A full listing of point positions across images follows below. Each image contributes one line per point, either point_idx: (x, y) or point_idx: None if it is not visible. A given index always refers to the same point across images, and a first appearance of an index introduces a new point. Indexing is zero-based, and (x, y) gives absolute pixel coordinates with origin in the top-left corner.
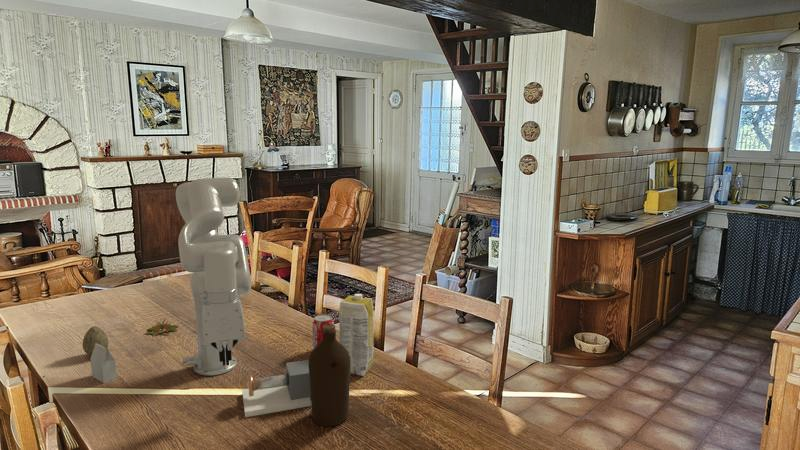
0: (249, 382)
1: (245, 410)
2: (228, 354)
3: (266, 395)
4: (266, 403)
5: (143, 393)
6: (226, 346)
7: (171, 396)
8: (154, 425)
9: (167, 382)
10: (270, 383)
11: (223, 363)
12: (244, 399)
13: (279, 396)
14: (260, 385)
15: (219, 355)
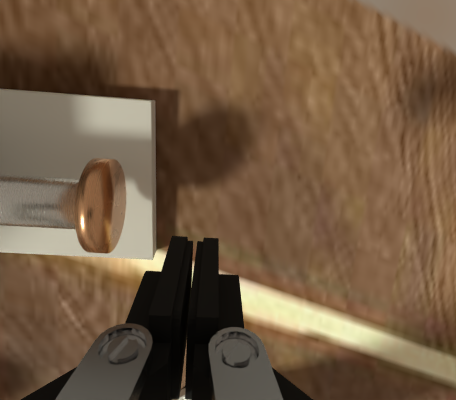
0: (95, 183)
1: (148, 112)
2: (157, 288)
3: None
4: (67, 132)
5: (422, 347)
6: (160, 392)
7: (358, 309)
8: (434, 168)
9: (355, 379)
10: (7, 178)
11: (212, 244)
12: (148, 192)
13: (16, 164)
14: (56, 181)
15: (240, 310)
